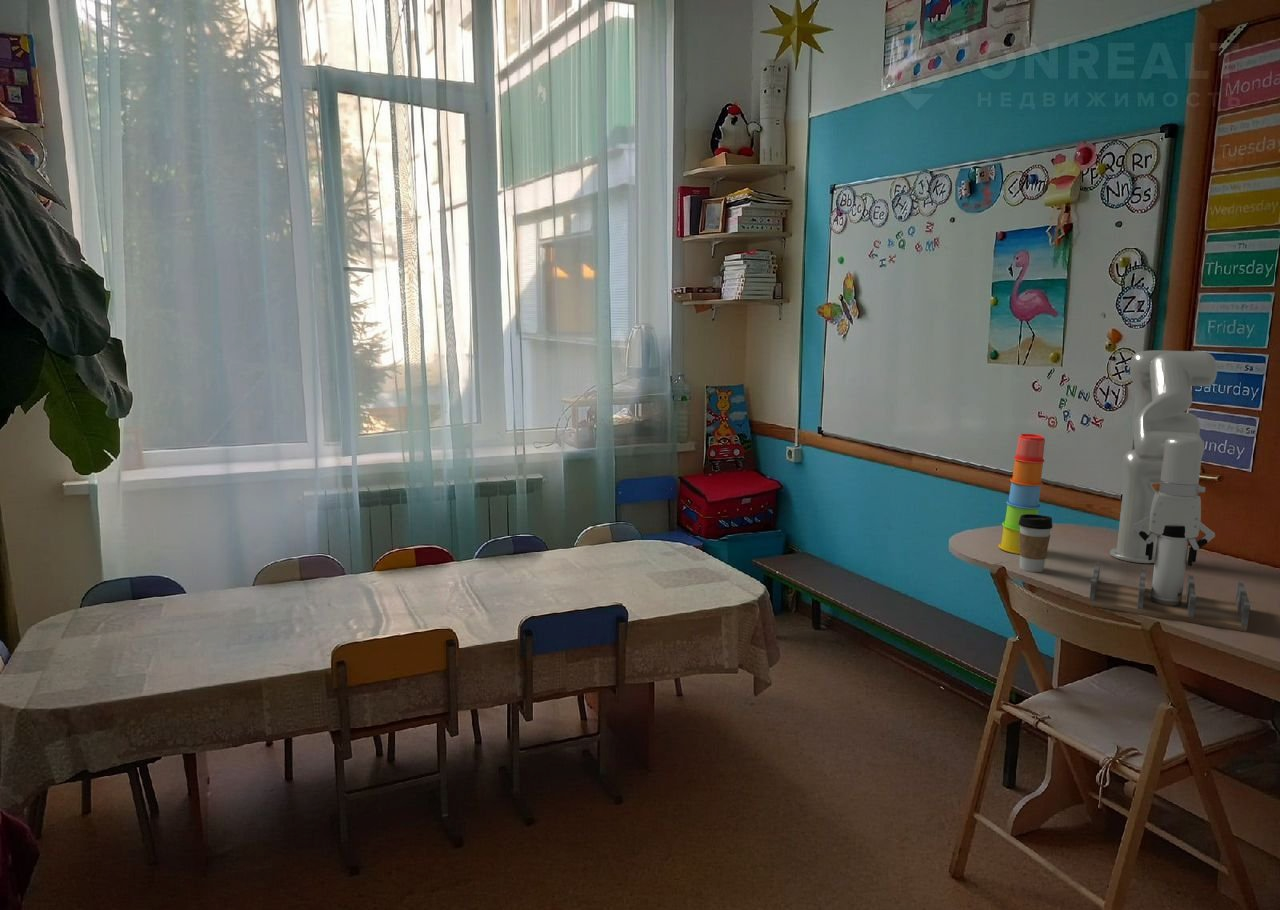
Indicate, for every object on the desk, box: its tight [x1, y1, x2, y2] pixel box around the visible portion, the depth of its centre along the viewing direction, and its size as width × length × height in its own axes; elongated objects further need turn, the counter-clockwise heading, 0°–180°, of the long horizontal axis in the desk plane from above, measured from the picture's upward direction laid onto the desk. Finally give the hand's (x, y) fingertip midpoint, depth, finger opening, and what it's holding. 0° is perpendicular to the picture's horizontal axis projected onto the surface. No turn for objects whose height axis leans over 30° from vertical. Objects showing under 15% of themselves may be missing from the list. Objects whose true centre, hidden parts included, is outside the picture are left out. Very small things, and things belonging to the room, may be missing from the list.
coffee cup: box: [1019, 514, 1053, 573], centre depth 228 cm, size 8×8×15 cm
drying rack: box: [1088, 561, 1251, 633], centre depth 200 cm, size 18×31×6 cm, turn 58°
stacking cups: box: [998, 433, 1046, 555], centre depth 244 cm, size 10×10×35 cm
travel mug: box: [1151, 526, 1190, 606], centre depth 198 cm, size 6×7×20 cm
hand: (1169, 561), depth 198 cm, fingers open, 7 cm apart
